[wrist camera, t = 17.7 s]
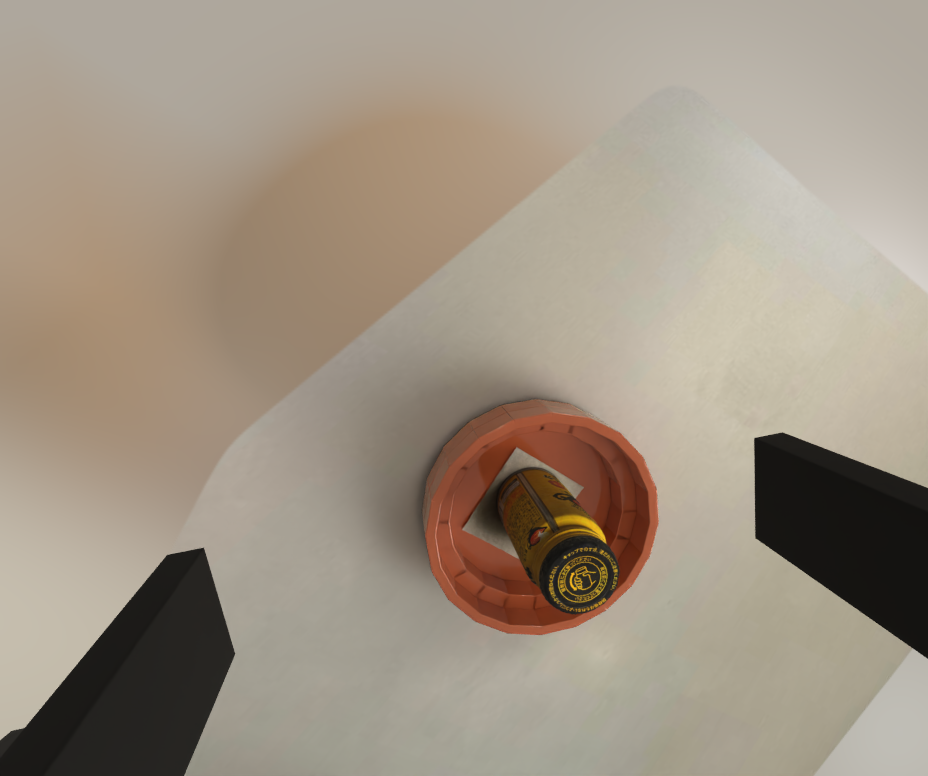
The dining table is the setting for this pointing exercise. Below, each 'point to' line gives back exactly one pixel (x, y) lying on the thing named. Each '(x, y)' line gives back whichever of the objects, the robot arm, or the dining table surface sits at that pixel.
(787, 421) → the dining table surface
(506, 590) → the bowl
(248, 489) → the dining table surface
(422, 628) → the dining table surface
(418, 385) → the dining table surface
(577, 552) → the condiment
